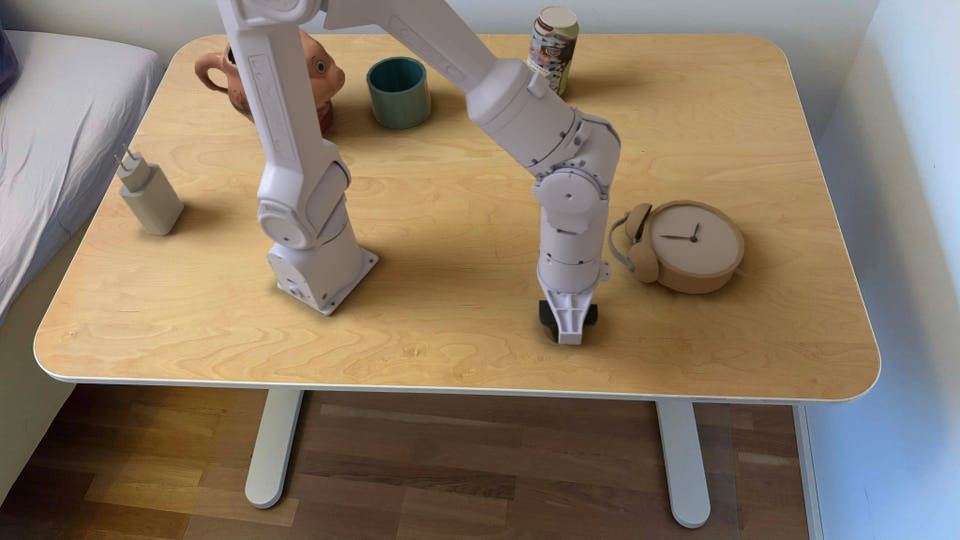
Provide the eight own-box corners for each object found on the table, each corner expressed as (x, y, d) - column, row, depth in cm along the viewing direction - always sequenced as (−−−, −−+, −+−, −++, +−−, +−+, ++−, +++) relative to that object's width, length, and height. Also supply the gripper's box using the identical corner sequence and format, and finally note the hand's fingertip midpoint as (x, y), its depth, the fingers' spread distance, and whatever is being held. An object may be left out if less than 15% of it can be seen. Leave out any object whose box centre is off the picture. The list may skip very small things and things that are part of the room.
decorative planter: (209, 159, 91) (164, 75, 79) (229, 101, 98) (191, 16, 87) (353, 154, 90) (329, 69, 78) (363, 96, 97) (342, 9, 86)
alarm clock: (755, 282, 71) (618, 263, 70) (734, 307, 75) (604, 289, 74) (739, 204, 77) (613, 185, 76) (721, 230, 81) (601, 212, 80)
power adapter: (185, 204, 86) (143, 134, 76) (166, 236, 83) (120, 167, 73) (164, 201, 86) (119, 131, 77) (144, 233, 83) (94, 165, 74)
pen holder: (408, 136, 91) (402, 102, 86) (362, 116, 94) (353, 82, 89) (442, 102, 95) (438, 67, 90) (397, 84, 98) (390, 49, 93)
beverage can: (516, 85, 97) (515, 10, 87) (560, 70, 98) (564, -5, 88) (536, 110, 93) (538, 36, 83) (582, 94, 95) (589, 19, 85)
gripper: (622, 307, 55) (605, 381, 66) (611, 181, 64) (598, 265, 75) (537, 306, 56) (535, 380, 67) (537, 181, 64) (535, 264, 75)
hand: (563, 319), depth 71 cm, fingers closed on tape roll, 4 cm apart
